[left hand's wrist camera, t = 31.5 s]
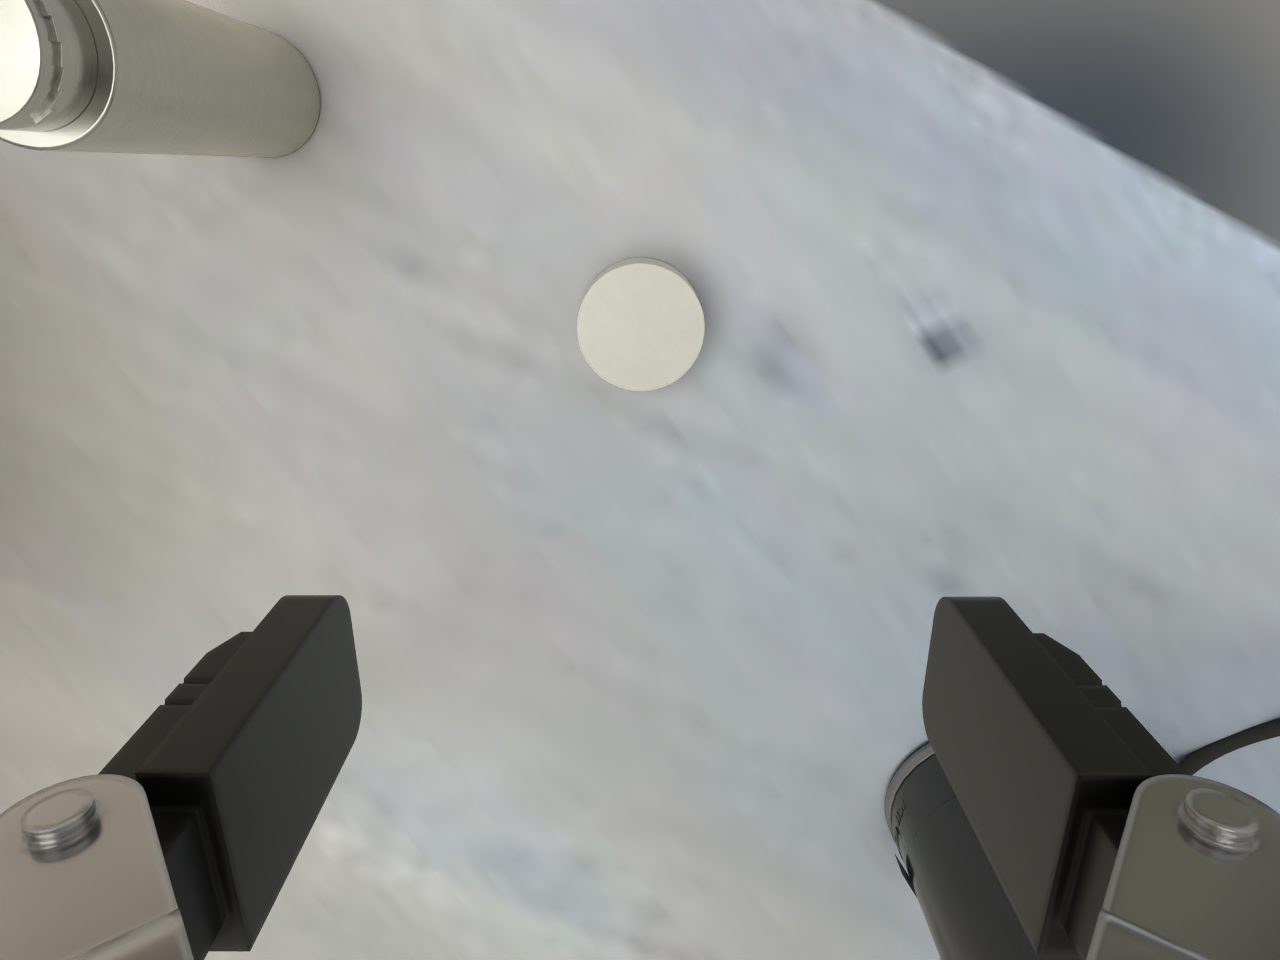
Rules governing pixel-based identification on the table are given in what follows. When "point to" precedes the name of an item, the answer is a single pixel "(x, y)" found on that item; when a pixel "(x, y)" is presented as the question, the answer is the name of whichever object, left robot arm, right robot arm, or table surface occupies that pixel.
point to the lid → (640, 325)
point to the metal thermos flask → (149, 80)
